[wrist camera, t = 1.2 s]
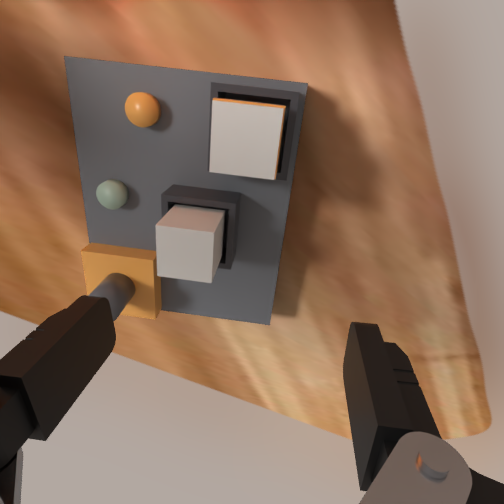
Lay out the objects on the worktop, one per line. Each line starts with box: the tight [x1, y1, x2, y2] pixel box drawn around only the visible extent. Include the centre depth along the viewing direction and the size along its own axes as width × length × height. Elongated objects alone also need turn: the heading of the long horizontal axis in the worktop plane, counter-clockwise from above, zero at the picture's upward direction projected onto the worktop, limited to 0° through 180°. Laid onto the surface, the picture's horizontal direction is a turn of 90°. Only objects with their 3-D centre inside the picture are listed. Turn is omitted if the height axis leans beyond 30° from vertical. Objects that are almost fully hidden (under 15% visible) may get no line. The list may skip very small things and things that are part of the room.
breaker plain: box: [155, 204, 225, 283], centre depth 25 cm, size 4×4×4 cm
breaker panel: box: [64, 56, 308, 325], centre depth 29 cm, size 18×22×6 cm
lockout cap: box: [81, 242, 162, 321], centre depth 30 cm, size 7×7×5 cm
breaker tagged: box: [209, 98, 286, 180], centre depth 21 cm, size 4×4×4 cm
